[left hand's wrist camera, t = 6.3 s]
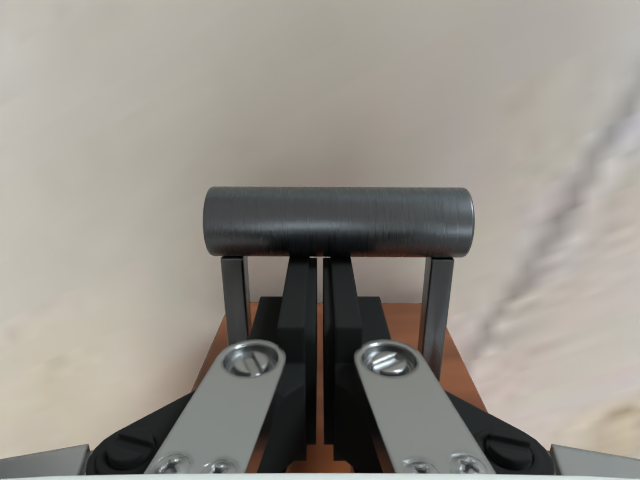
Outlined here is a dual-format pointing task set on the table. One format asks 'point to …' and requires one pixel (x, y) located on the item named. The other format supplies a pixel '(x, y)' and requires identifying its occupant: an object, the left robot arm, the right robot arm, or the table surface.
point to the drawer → (345, 241)
